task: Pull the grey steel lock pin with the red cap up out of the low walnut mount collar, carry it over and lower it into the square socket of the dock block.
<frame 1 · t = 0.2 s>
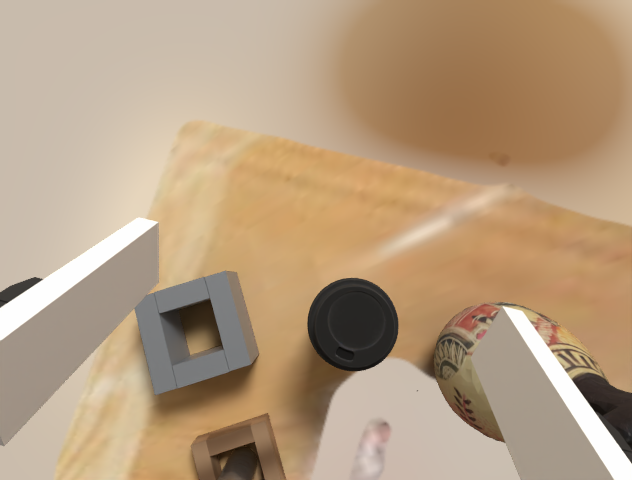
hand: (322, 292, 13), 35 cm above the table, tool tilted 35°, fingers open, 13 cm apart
mount collar: (242, 462, 44), on the table
coffee cup: (341, 311, 47), on the table
dock block: (206, 325, 47), on the table
ceramic jug: (465, 355, 47), on the table
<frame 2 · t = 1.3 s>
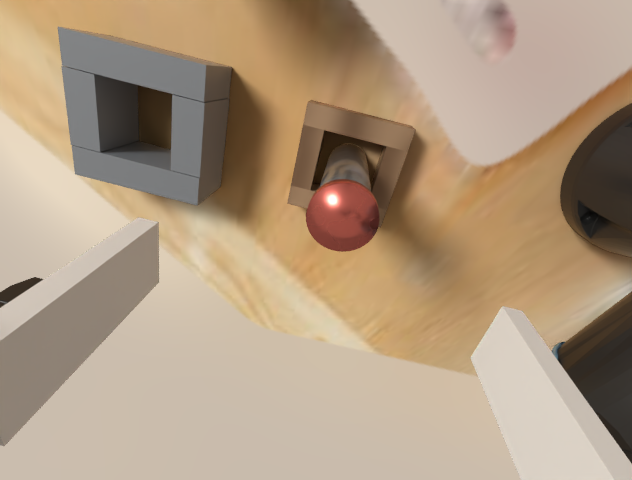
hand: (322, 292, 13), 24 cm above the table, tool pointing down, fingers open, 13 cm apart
lock pin: (345, 184, 27), in the mount collar
mount collar: (347, 163, 34), on the table
dock block: (169, 117, 34), on the table
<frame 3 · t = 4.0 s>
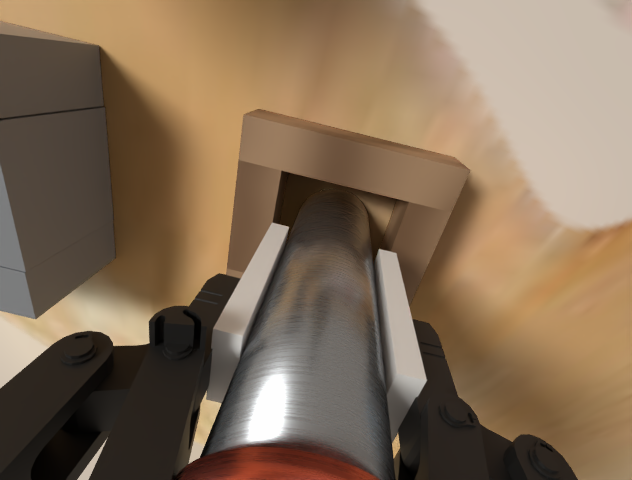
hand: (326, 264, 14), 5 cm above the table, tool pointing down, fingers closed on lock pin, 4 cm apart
lock pin: (321, 305, 12), in the mount collar, touching gripper
mount collar: (332, 222, 18), on the table
dock block: (4, 142, 18), on the table
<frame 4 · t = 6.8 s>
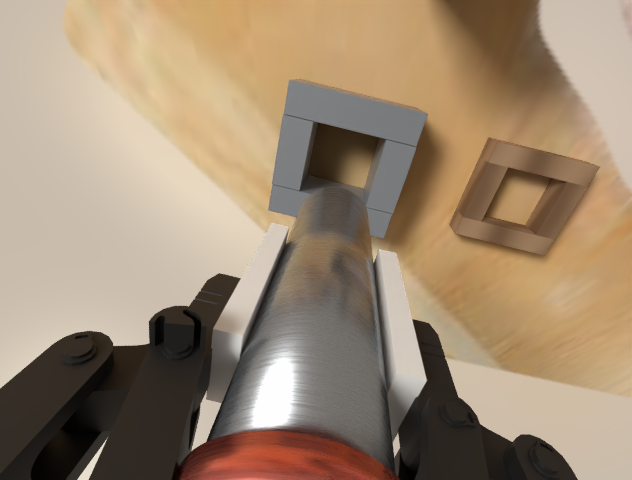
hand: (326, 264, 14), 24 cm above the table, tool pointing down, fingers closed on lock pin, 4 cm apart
lock pin: (321, 300, 12), point 26 cm above the table, touching gripper
mount collar: (512, 194, 36), on the table
dock block: (343, 153, 36), on the table
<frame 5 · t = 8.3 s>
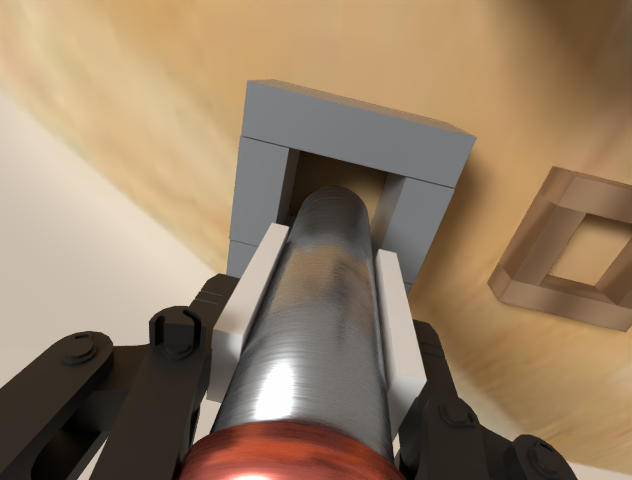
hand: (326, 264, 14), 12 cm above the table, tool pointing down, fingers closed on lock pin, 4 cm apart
lock pin: (322, 298, 12), point 14 cm above the table, touching gripper
mount collar: (580, 245, 25), on the table
dock block: (338, 185, 25), on the table
when the fingers open (7 cm above the table, at t = 9.6 s): lock pin drops 1 cm, resting in dock block.
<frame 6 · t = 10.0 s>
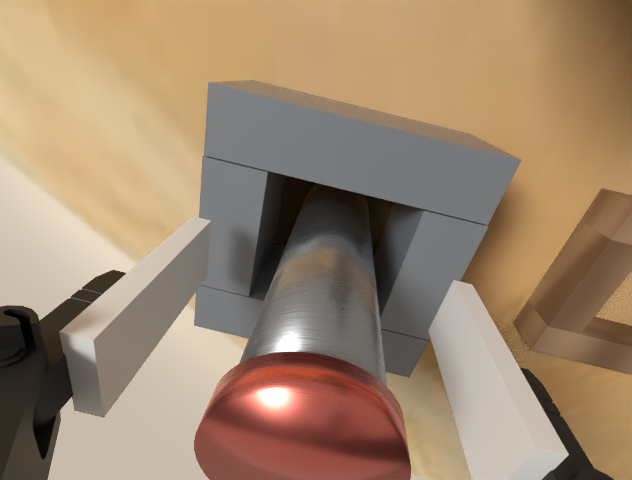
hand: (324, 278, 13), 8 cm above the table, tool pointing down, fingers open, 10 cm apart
lock pin: (326, 275, 14), in the dock block
mount collar: (630, 282, 20), on the table
dock block: (334, 209, 20), on the table
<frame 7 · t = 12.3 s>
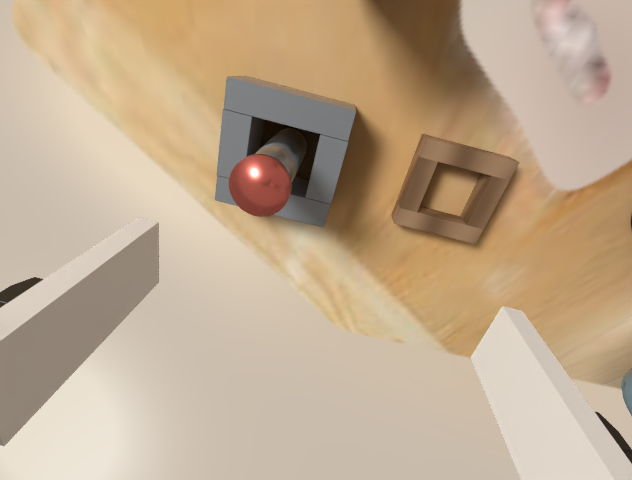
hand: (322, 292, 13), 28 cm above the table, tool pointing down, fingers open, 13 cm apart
lock pin: (277, 162, 31), in the dock block
mount collar: (446, 187, 38), on the table
dock block: (289, 146, 38), on the table
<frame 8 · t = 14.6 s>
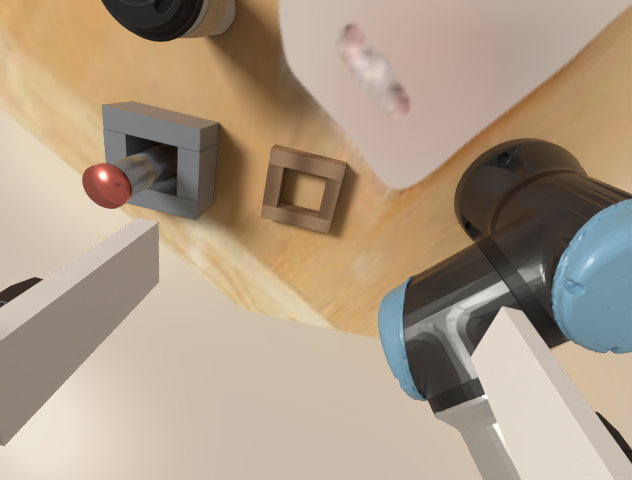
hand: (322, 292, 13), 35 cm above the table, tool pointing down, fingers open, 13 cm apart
lock pin: (145, 169, 40), in the dock block
mount collar: (303, 187, 47), on the table
coffee cup: (211, 5, 38), on the table
dock block: (174, 156, 47), on the table
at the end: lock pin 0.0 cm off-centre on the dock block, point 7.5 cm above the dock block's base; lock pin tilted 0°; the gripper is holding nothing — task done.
